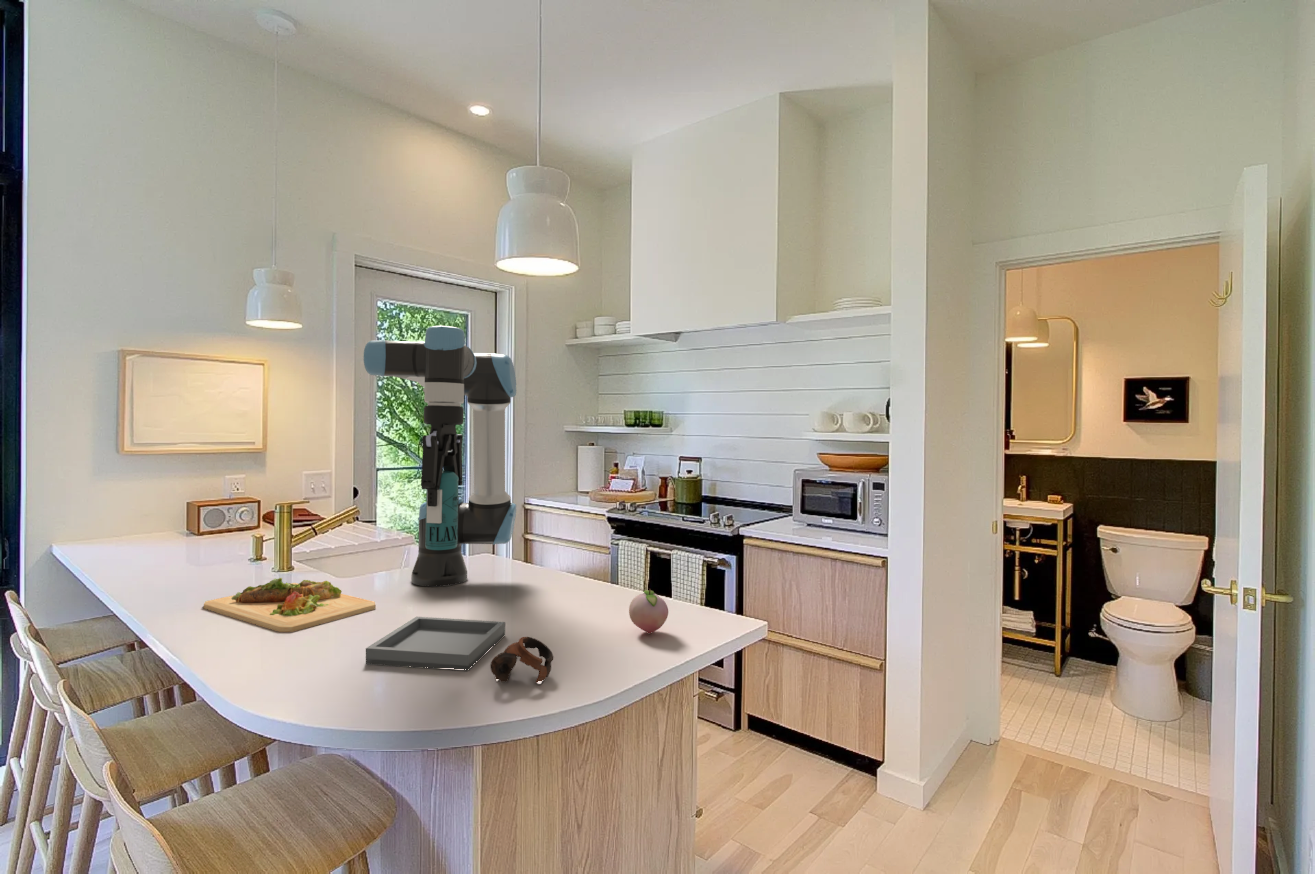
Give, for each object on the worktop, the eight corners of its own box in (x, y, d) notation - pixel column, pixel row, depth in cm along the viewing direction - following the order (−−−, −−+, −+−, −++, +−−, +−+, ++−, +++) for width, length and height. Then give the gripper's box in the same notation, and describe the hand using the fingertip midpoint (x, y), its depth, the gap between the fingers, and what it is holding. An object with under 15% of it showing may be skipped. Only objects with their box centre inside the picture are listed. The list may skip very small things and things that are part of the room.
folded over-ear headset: (514, 667, 124) (536, 631, 124) (544, 701, 119) (567, 664, 119) (468, 670, 114) (493, 631, 114) (499, 708, 109) (524, 667, 109)
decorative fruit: (623, 628, 147) (624, 584, 147) (657, 625, 150) (658, 582, 149) (635, 642, 138) (637, 595, 138) (672, 639, 141) (673, 593, 141)
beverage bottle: (422, 558, 127) (424, 455, 126) (425, 551, 133) (426, 453, 133) (457, 557, 129) (459, 456, 128) (458, 550, 135) (460, 453, 134)
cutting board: (380, 610, 158) (381, 579, 158) (285, 636, 138) (285, 601, 138) (294, 588, 176) (295, 561, 175) (198, 609, 155) (199, 578, 155)
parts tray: (416, 630, 142) (416, 616, 142) (504, 635, 140) (505, 621, 140) (365, 664, 122) (365, 648, 122) (467, 671, 120) (468, 655, 120)
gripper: (446, 405, 140) (445, 512, 141) (401, 403, 121) (400, 527, 121) (480, 406, 139) (478, 513, 140) (440, 404, 120) (438, 528, 121)
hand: (442, 519), depth 131 cm, fingers closed on beverage bottle, 6 cm apart
